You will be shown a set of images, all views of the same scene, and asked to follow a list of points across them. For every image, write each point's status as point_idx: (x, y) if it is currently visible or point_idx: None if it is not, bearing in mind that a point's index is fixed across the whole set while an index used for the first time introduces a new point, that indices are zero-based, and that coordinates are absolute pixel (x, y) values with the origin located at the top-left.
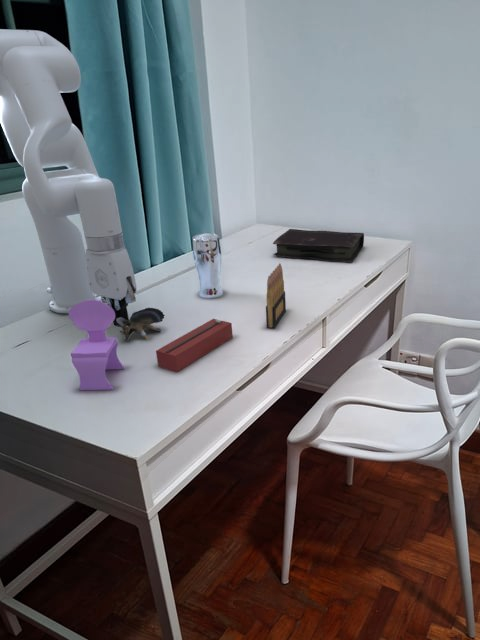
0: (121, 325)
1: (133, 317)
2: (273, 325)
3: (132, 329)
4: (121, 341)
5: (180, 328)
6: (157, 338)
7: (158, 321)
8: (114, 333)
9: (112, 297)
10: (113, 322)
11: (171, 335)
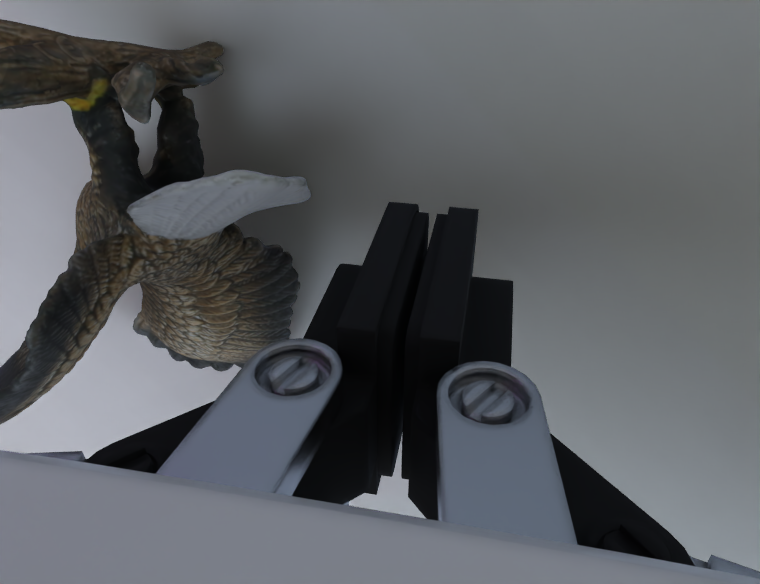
0: (121, 95)
1: (80, 289)
2: None
3: (149, 177)
4: (259, 26)
5: (98, 409)
6: (61, 227)
7: (7, 361)
8: (491, 157)
9: (14, 473)
10: (469, 225)
11: (37, 306)
